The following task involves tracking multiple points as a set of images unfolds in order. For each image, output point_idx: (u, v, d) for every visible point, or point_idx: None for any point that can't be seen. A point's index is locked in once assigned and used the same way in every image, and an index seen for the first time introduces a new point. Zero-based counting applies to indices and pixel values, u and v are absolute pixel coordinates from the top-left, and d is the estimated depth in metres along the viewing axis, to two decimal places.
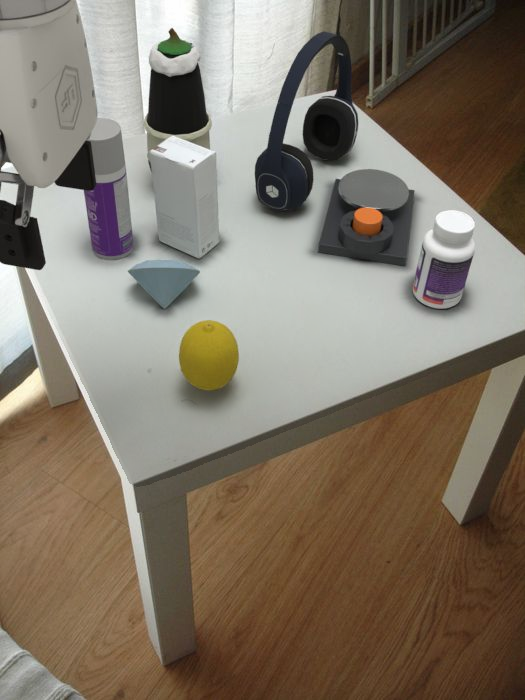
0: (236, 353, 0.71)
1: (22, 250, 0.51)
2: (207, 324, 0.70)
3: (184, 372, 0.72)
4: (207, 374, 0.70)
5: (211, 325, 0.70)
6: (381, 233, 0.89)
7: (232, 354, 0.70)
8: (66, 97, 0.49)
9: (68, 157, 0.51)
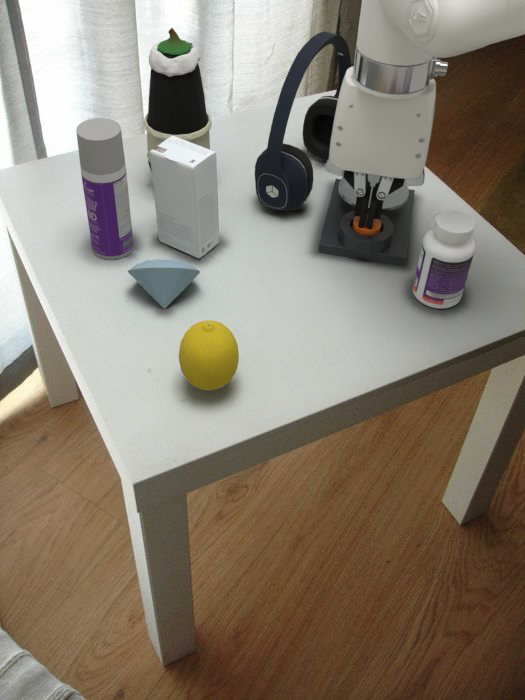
0: (236, 353, 0.71)
1: None
2: (207, 324, 0.70)
3: (184, 372, 0.72)
4: (207, 374, 0.70)
5: (211, 325, 0.70)
6: (381, 233, 0.89)
7: (232, 354, 0.70)
8: None
9: None
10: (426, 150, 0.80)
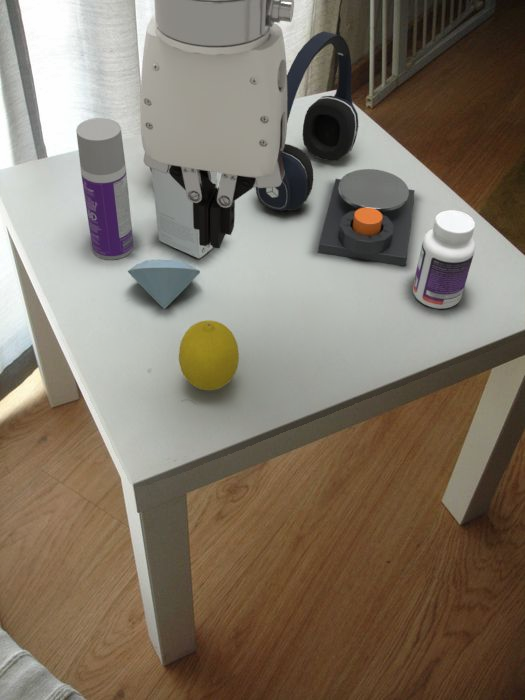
0: (236, 353, 0.71)
1: (234, 213, 0.63)
2: (207, 324, 0.70)
3: (184, 372, 0.72)
4: (207, 374, 0.70)
5: (211, 325, 0.70)
6: (381, 233, 0.89)
7: (232, 354, 0.70)
8: None
9: None
10: (274, 135, 0.54)
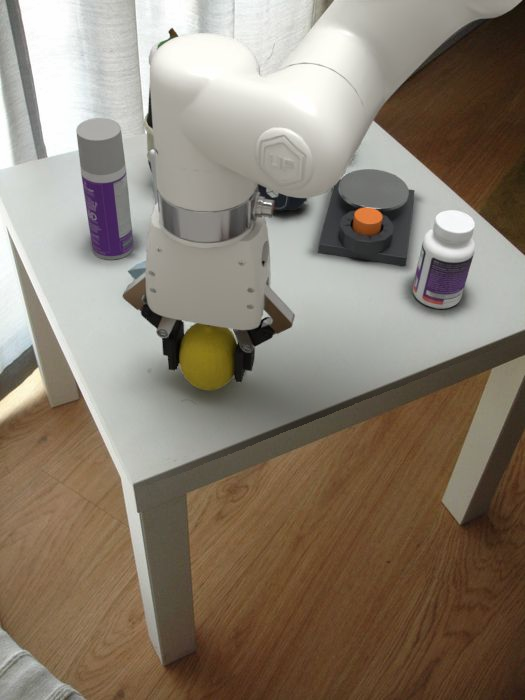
0: None
1: (254, 351, 0.72)
2: None
3: (184, 372, 0.72)
4: (207, 374, 0.70)
5: None
6: (381, 233, 0.89)
7: (232, 354, 0.70)
8: None
9: None
10: (259, 300, 0.64)
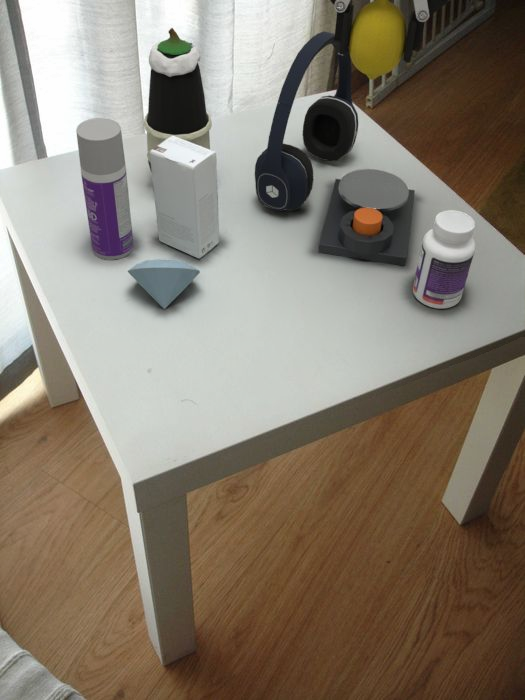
0: (406, 32, 0.75)
1: None
2: None
3: (356, 51, 0.75)
4: (382, 47, 0.74)
5: None
6: (381, 233, 0.89)
7: (404, 30, 0.74)
8: None
9: None
10: None
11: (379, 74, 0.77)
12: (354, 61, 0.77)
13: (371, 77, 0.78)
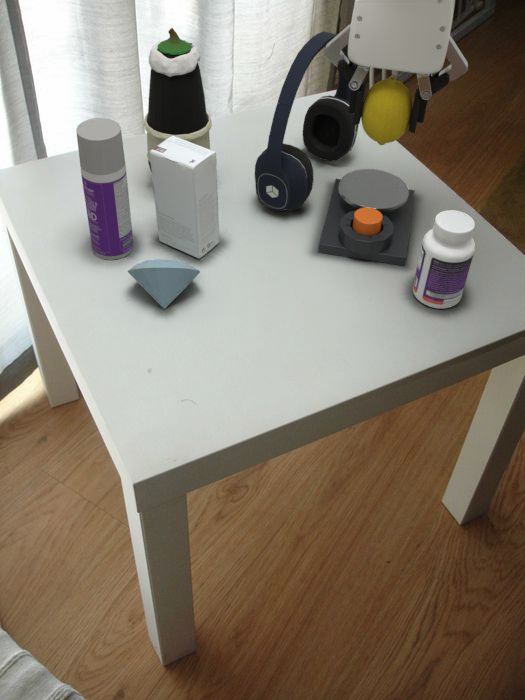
0: (411, 106, 0.86)
1: None
2: (391, 78, 0.84)
3: (368, 123, 0.86)
4: (390, 120, 0.85)
5: (394, 79, 0.84)
6: (381, 233, 0.89)
7: (410, 105, 0.85)
8: None
9: None
10: (447, 40, 0.79)
11: (387, 142, 0.88)
12: (366, 130, 0.87)
13: (380, 143, 0.89)
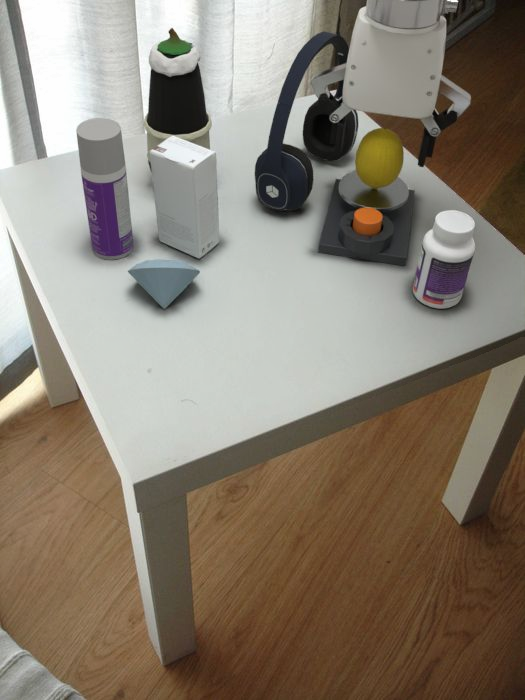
0: (403, 154, 0.90)
1: None
2: (383, 128, 0.88)
3: (361, 170, 0.90)
4: (382, 168, 0.89)
5: (386, 128, 0.88)
6: (381, 233, 0.89)
7: (401, 153, 0.89)
8: None
9: None
10: (437, 88, 0.82)
11: (380, 187, 0.92)
12: (359, 176, 0.91)
13: (374, 188, 0.93)
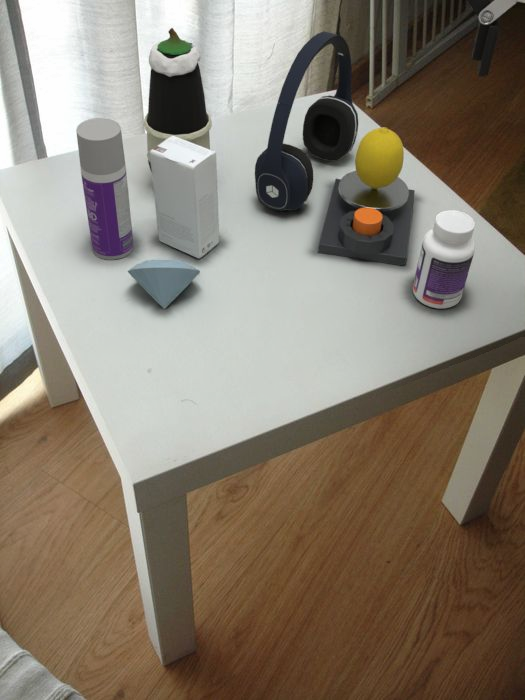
0: (403, 154, 0.90)
1: None
2: (383, 128, 0.88)
3: (361, 170, 0.90)
4: (382, 168, 0.89)
5: (386, 128, 0.88)
6: (381, 233, 0.89)
7: (401, 153, 0.89)
8: None
9: None
10: None
11: (380, 187, 0.92)
12: (359, 176, 0.91)
13: (374, 188, 0.93)
